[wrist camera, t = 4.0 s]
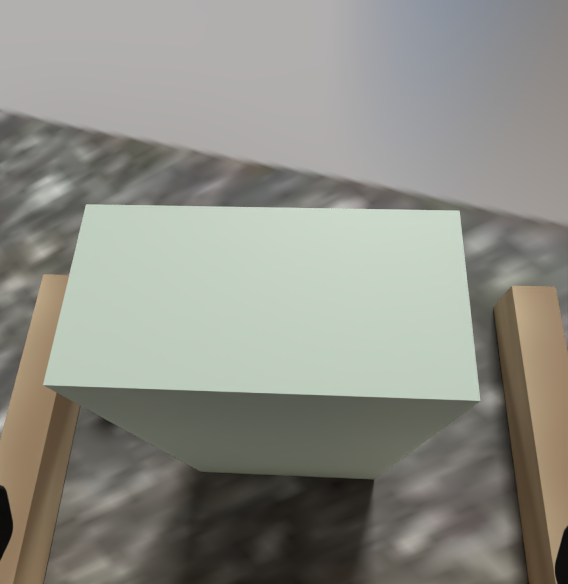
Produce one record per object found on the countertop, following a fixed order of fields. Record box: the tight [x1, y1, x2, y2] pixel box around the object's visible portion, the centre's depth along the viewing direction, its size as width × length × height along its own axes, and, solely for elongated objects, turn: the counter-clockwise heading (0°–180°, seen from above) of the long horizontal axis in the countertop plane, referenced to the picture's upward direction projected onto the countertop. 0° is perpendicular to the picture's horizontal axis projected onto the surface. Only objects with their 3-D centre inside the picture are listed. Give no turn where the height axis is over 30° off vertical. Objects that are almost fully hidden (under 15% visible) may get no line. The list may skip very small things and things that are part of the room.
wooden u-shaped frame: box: [0, 275, 568, 584], centre depth 17 cm, size 18×12×2 cm, turn 87°
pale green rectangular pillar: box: [43, 205, 480, 479], centre depth 13 cm, size 6×3×12 cm, turn 87°
